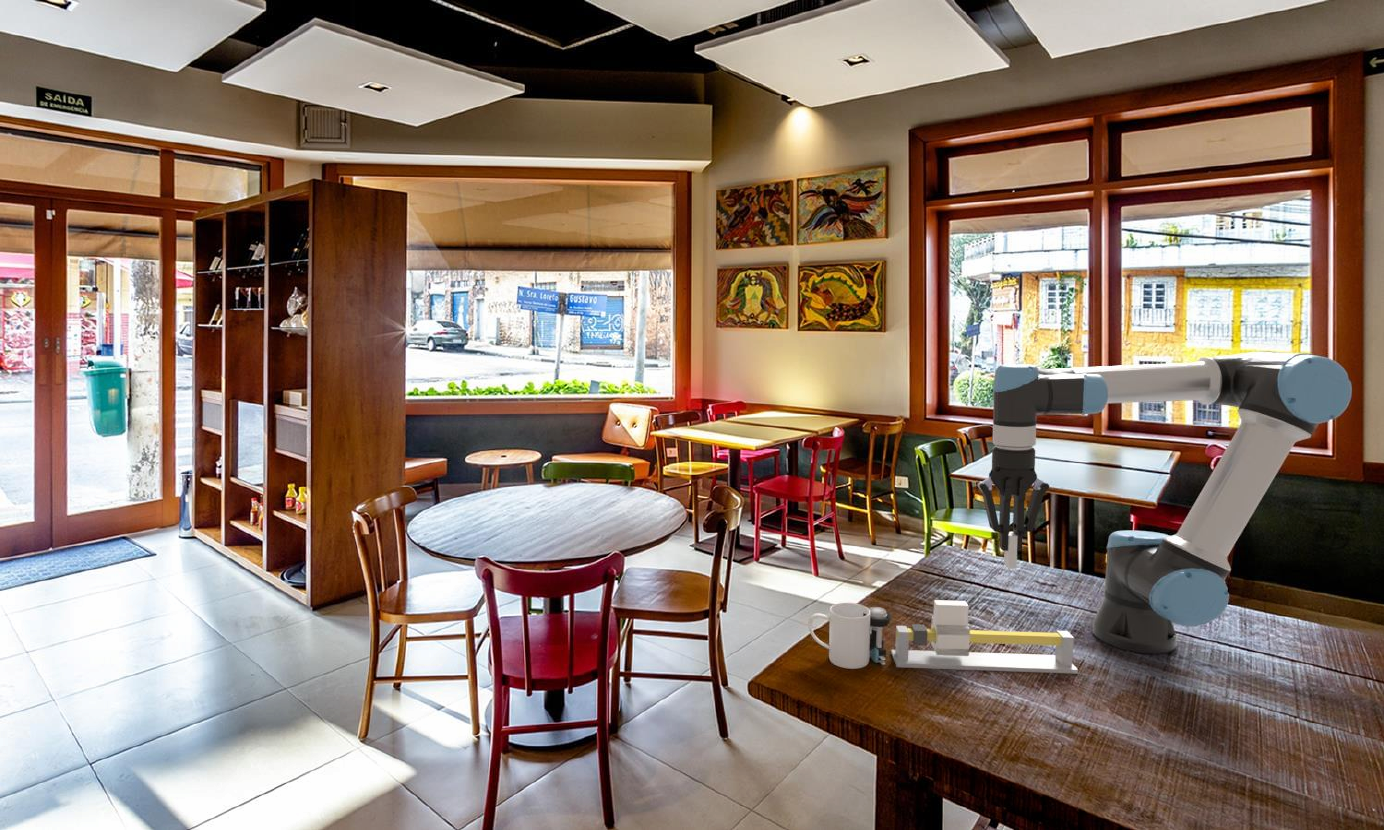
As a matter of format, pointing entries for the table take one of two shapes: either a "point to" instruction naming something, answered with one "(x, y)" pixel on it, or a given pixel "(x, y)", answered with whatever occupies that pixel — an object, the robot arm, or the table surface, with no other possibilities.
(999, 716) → the table surface
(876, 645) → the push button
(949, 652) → the white stepped block
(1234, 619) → the table surface
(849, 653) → the mug
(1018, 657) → the linear slide rail
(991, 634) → the long yellow bar
